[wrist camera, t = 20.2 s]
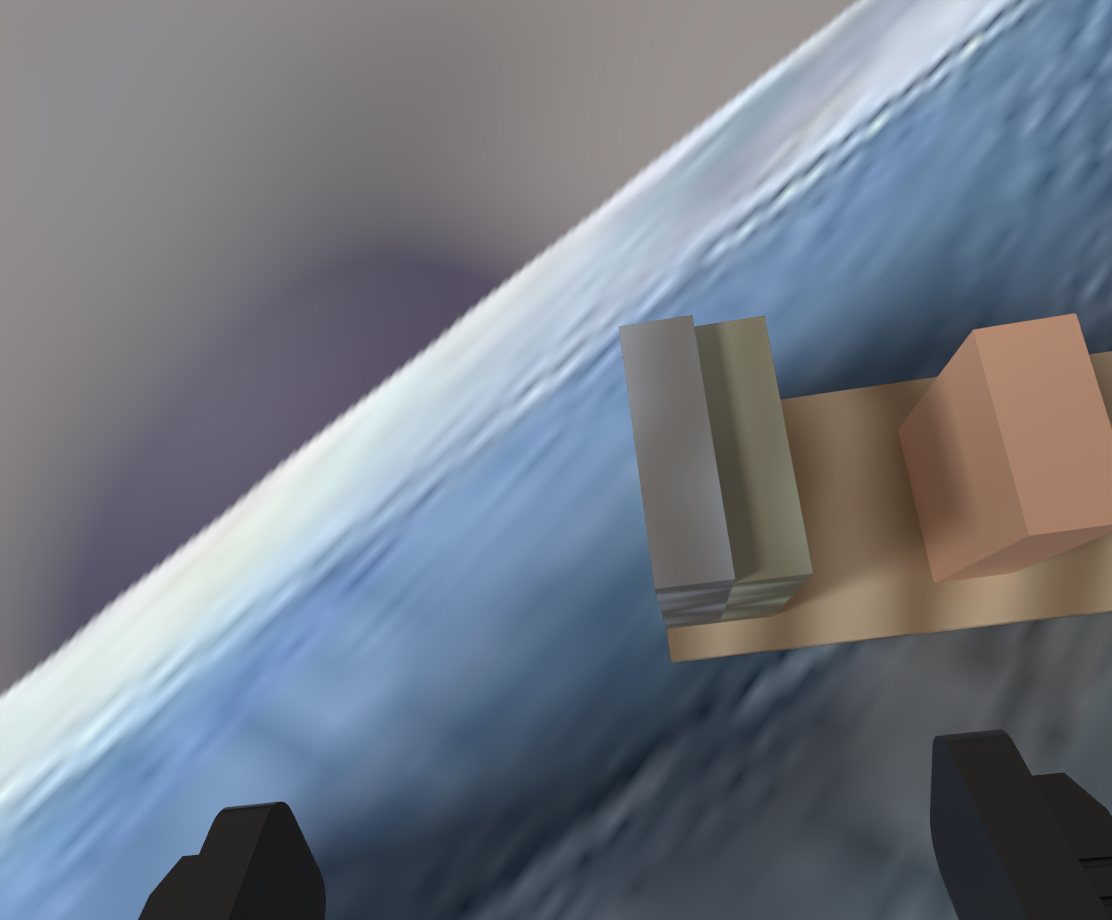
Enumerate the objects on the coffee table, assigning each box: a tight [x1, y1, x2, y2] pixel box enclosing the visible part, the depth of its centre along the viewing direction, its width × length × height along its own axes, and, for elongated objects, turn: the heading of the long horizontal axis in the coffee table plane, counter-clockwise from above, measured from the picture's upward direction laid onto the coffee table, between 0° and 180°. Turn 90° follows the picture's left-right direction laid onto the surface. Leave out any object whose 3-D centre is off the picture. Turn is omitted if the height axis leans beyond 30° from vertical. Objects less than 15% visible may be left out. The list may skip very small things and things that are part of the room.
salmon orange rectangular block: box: [898, 313, 1112, 584], centre depth 36 cm, size 4×8×12 cm, turn 7°
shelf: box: [619, 315, 1112, 663], centre depth 36 cm, size 24×12×16 cm, turn 96°
